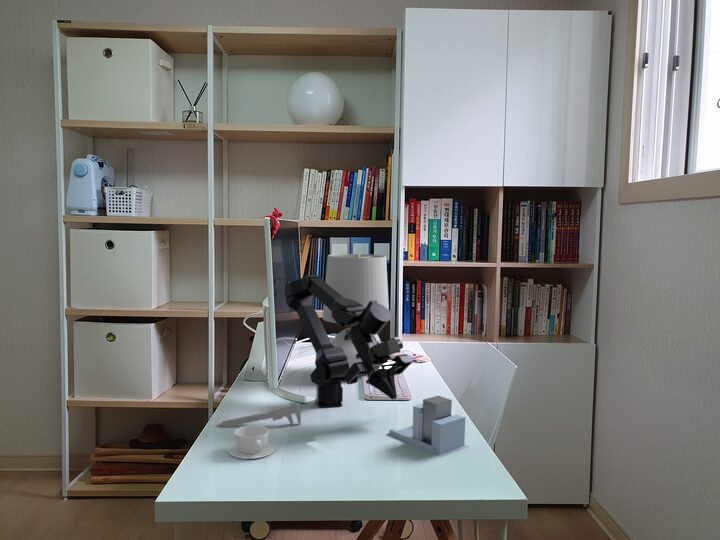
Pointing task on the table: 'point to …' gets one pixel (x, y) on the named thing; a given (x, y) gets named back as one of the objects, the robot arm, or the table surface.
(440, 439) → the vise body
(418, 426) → the free jaw
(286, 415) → the caliper
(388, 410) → the table surface
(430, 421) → the block
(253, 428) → the teacup
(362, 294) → the table lamp
